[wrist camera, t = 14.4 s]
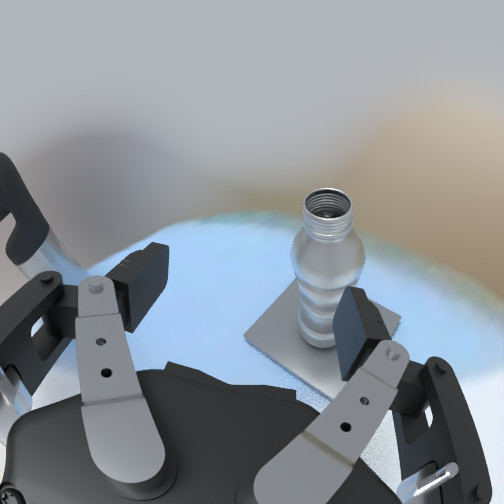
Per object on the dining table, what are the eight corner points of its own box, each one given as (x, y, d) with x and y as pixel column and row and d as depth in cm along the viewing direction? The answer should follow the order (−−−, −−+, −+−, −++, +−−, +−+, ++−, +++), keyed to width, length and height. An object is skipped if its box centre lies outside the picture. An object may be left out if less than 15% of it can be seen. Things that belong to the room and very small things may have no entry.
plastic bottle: (335, 300, 35) (343, 169, 21) (357, 342, 31) (391, 219, 16) (291, 316, 35) (269, 189, 21) (309, 361, 30) (304, 249, 16)
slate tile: (245, 339, 36) (243, 335, 35) (307, 271, 41) (306, 265, 40) (343, 408, 27) (344, 406, 26) (399, 321, 32) (401, 316, 31)
